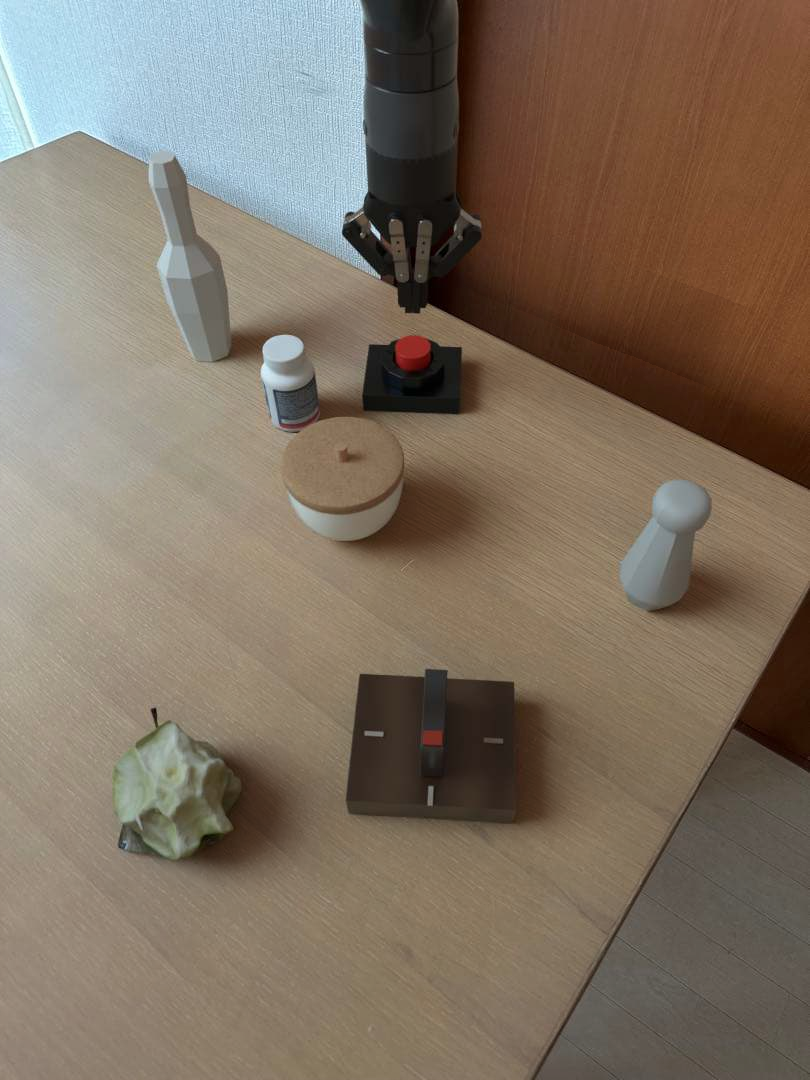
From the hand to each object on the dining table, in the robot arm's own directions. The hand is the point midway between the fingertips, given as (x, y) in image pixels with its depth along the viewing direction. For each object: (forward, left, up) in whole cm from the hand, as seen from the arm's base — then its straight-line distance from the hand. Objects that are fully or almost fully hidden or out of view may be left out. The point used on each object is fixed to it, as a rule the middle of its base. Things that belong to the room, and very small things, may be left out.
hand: (412, 308), depth 81 cm
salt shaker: (-22, +25, -10) cm, 35 cm away
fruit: (+14, +46, -10) cm, 49 cm away
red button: (0, 0, -6) cm, 6 cm away
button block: (0, 0, -10) cm, 10 cm away
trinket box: (+5, +18, -10) cm, 21 cm away
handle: (-4, +41, -7) cm, 42 cm away
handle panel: (-4, +41, -10) cm, 42 cm away
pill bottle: (+12, +5, -10) cm, 17 cm away
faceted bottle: (+23, -5, -10) cm, 26 cm away
